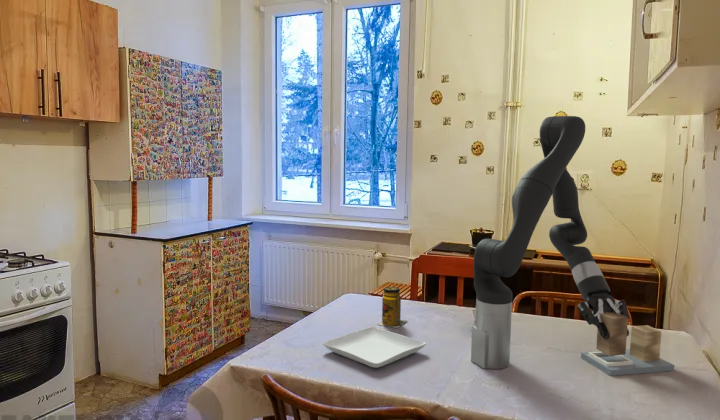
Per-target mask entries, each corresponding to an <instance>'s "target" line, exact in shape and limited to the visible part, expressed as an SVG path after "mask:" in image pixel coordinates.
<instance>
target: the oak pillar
mask: <svg viewBox="0 0 720 420" xmlns="http://www.w3.org/2000/svg"><path fill="white" fill-rule="evenodd" d="M661 343H662V331H661V330H659V329H657V328H654V327H652V326H651V325H648V324H647V325H632V326H631V330H630V345H629V346H630V347H629V349H630V355H632V356H633V357H635V358H637V359H639V360H641V361H643V362H644V361H657V360H659V358H661V357H660V354H661Z"/></svg>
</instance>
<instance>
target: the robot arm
mask: <svg viewBox="0 0 720 420" xmlns="http://www.w3.org/2000/svg"><path fill="white" fill-rule="evenodd" d="M585 133H586V123H585V121H584V119H583V118H582V117H580V116H575V115H558V116H557V115H556V116H548V117H546V118H544V119H543V120H542V121H541V123H540V127H539V141H540V146H541V150H542V153H543V158H542V159H541V160H540V161H539V162H537V163H536V164H535V165H533V166H531V168H529V169H528V170H527V171H526V172H525V173H524V174H523V175H522V176H521V178H520V179H519V181H518V183H517V185H516V187H515V189H514V191H513V193H512V197H511V207H512V215H513V224H512V227H511V229H510V230H509V234H508V235H507V236H506V239H504V240H500V239H494V238H483V239H481V240H480V241H479V242H478V243H477V245H476V247H475V250H474V255H473V288H474V290H475V293H476V295H475V296H476V299H475V300H476V301H475V308H476V321H475V320H474V322H475V324H474V325H473V326H472V327H471V345H470V347H471V349H470V361H471V362H472V363H474V364H476V365H478V366H479V367H480V368H482V369H485V370H486V369H495V370H500V369H504V368H505V369H506V368H508V367H509V366H510V361H511V360H510V358H511V356H510V355H511V336H512V335H511V334H512V333H511V331H512V315H513V314H512V312H513V291H512V289H511V288H510V287H508V286H507V285H506V284H505V283H504V282H503V281H502V279H501V278H500V277H502V278H511V277H513V276H514V275H515V274H516V273H517V272H518V270H519V269H520V266H521V264H522V262H523V260H524V257H525V255H526V252H527V249H528V247H529V245H530V241H531V238H532V236H533V234H534V231H535V229H536V227H537V225H538V223H539V221H540V218H541V217H542V215H543V212H544V211H545V209H546V207H547V205H548V204H549V202H550V199H551V197H552V205H553V214H554V216H556V217H557V218H560V219H569V220H570V221H569V222H565V223H560V224H559V223H558V224H554V225H553V226H551V227H550V229H549V232H548V237H549V239H550V242H551V244H552V245H553V246H554V248H555V249H556V250H557V251H558V252H559V254H560V255H561V256H562V257H563V258H564V259H565V261H566V262H567V265H568V267H569V269H570V271H571V274H572V276H573V280H574V282H575V284H576V287H577V289H578V291H579V293H580V295H581V297H582V300H583V301H581V302H579V304H578V305H577V306H576V307H577V310H578V311H579V312H580V315H581V316H582V317H583V319H584V320H585V322H586V323H587V324H588V325H589V326H592V325H593V326H595V327H596V328H597V329H598V331H599V333H600V335H601V336H602V337H603V338H604V339H607V338H609V337H610V334H609V332H608V330H607V327H606V325H605V323H603V318H602V316H601V314H603V312H614V313H619V314H621V315H623V316H626V317H628V320H629V319H630V314H629V310H628V306H627V303H626V300H625V299H621V300H618V299H617V300H616V299H615V298H614V297H613V296H612V295H611V289H610V287H609V284H608V282H607V281H606V278H605V277H604V274H603V272H602V271H601V268H600V267H599V266H598V264H597V263H596V260H595V259H594V256H593V254H592V252H591V251H590V249H589V248H588V247H587V246H581V244H584V243H585V242H586V240H587V238H588V231H587V228H586V226H585V223H584V221H583V219H582V215H581V212H580V206H579V204H580V203H579V192H578V188H577V187H578V186H577V185H576V182H575V180H574V178H573V177H572V176H571V174H570V173H569V170H567V169H568V168H567V166H568V165H569V163H570V162H571V160H572V159H573V157H574V156H575V154H576V153H577V151H578V150H579V148H580V146H581V145H582V143H583V140H584V137H585ZM579 245H580V246H579ZM629 335H630V330H629V328H628V327H627V337H628V336H629Z"/></svg>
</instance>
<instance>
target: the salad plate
mask: <svg viewBox="0 0 720 420" xmlns="http://www.w3.org/2000/svg"><path fill="white" fill-rule="evenodd" d="M322 345H323V346H324V347H325V348H326V349H327V350H329V351H331V352H333V353H335V354H337V355H340V356H343V357H345V358H347V359H350V360H352V361H355V362H357V363H360V364H363V365H366V366H369V367H370V368H381V367H383V366H386V365H388V364H391V363H393V362H396V361H398V360H400V359H403V358H405V357H408V356H410V355H412V354H415V353H417V352H418V351H421V349H423V348H424V347H425V346H426V345H427V343H426V342H424V341H421V340H418V339H416V338H412V337H409V336H406V335H402V334H399V333H396V332H393V331H388V330H386V329H382V328H380V327H376V326H370V327H366V328H361V329H359V330H356V331H352V332H349V333H347V334H344V335H341V336H338V337H334V338H331V339H329V340H327V341H324V342H322Z"/></svg>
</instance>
